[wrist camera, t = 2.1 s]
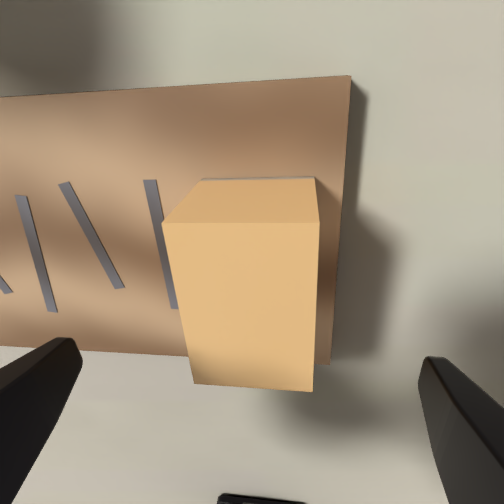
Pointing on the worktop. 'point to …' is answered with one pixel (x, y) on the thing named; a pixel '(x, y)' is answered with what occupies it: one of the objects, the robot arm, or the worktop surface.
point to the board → (147, 199)
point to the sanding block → (247, 280)
